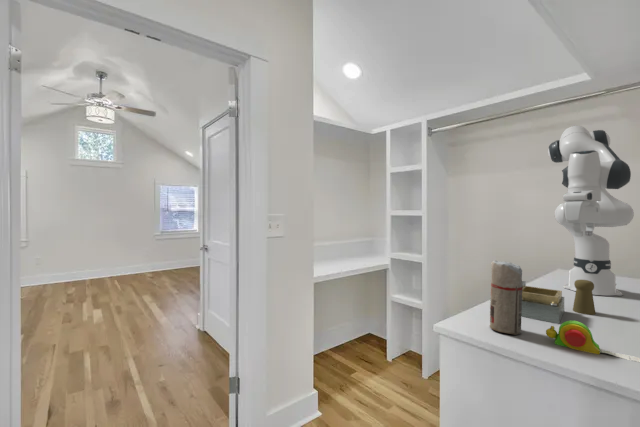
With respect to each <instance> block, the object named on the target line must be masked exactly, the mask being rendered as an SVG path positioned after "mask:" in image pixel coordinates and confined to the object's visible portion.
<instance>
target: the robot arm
mask: <svg viewBox="0 0 640 427" xmlns="http://www.w3.org/2000/svg"><path fill="white" fill-rule="evenodd" d="M610 145H611V137H610V136H609V134H608V133H607V132H606V131H605V130H603V129H598V130H597V129H596V130H593V131H589V130H588V129H587V128H586V127H584V126H582V125H574V126H570V127H566V128H565V129H564V131H563V132H562V133H561V135H560V138H559V139H557V140H554V141H552V142H551V143H550V144H549V146H548V149H547V155H548V157H549V159H550V160H551V162H553V163H556V164H557V163H563V162H568V165H567V166H566V167H564V168H563V169H562V170H561V172H562V182H561V185H563V186H564V187H565V188H566V189H567V192H566V193H565V194H563V196H562V200H563V202H562V203H560V204H559V205H557V206H556V208H555V209H554V218H555V220H556V222H557V223H559V224H560V225H561V226H562V227H563V228H565V229H566V230H568V232H569V233H570V235H571V236H572V238H573V243H574V244H573V245H574V257H573V260H572V261H573V267H572V268H570V269H569V271H568V274H569V275H568V283H567V284H564V285H563V288H564V289H567V290H571V291H574V292H576V288H575V285H574V283H575V281H576V280H588V281H591V282H593V284H594V289H593V290H592V294H593V295H594V296H608V297H609V296H610V297H611V296H618V297H620V296H623V292H621V291H620V290H618V289H617V288H616V287H617V283H616V280H617V279H616V274H614V272H612V270H611V269H612V261H611V260H610V242H609V241H608V240H607V239H606V238H605V237H603V236H600V235H598V234H596V233H594V230H595V227H597V228H614V227H615V228H616V227H622V226H627V225H629V224H630V223H631V222H632V221H633V219H634V215H635V213H634V210H633V208H632V206H631V205H630V204H629V203H628V202H624V201H622V200H620V199H619V198H616V197H615V196H613V195H611V194H610V193H609V192H608V191H607V190H620V189H621V188H623V187H624V186H625V187H626V185H628V183H630V181H631V176H632V171H631V169H630V166H629V164H627V163H626V162H625V161H624V160H622V159H621V158H620V157H619V156H618V155H617V154H616V153H615V152H614V151H613V149H612V148H611V147H610ZM606 189H607V190H606Z"/></svg>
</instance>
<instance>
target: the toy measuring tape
mask: <svg viewBox="0 0 640 427" xmlns="http://www.w3.org/2000/svg"><path fill="white" fill-rule="evenodd" d="M545 334H546V336H547V337H549V338H550V339H554V344H555V345H557V346H562V347H566V348H569V349H572V350H577V351H581V352H584V353H590V354H594V355H600V354H601V353H602V354H608V355H610V356H613V357H616V358H619V359H622V360H626V361H627V360H628V361H631V362H636V363H640V357H637V356H634V355H629V354H623V353H618V352H613V351H610V350H609V351H608V350H602V349H601V348H600V345H599V344H598V343H597V342H595V340H594V338H593V333H592V331H591V329H590V328H589V327H588V326H587V325H586V324H584V323H582V322H580V321H577V320H567V321H564V322H562V323H561V324H560V325H559V327H558V331H557V330H556V329H555V326H554V325H551V326H550V328H547V329H546V330H545Z"/></svg>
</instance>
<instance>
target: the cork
mask: <svg viewBox="0 0 640 427" xmlns="http://www.w3.org/2000/svg"><path fill="white" fill-rule="evenodd" d="M574 285H575V288H576V291H575V294H574V301H573V305H572V306H573V307H572V312H575V313H576V314H582V315H587V316H588V315H589V316H594V315H596V307H595V302H594V296H593V294H592V290H593V289H594V284H593V282H591V281H588V280H576V281H575V283H574Z"/></svg>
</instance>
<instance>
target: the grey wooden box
mask: <svg viewBox="0 0 640 427" xmlns="http://www.w3.org/2000/svg"><path fill="white" fill-rule="evenodd" d="M526 284H527V282H526V281H524V280H522V311H521V312H522V316H521V317H524V318H527V319H528V318H529V319H534V320H537V321H542V322H549V323H553V324H558V325H559V324H560V323H561V320H562V318H563V316H564V314H565V296H563V291H562V290H558V289H550V288H543V287H537V286H536V287H535V286H529V285H526Z"/></svg>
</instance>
